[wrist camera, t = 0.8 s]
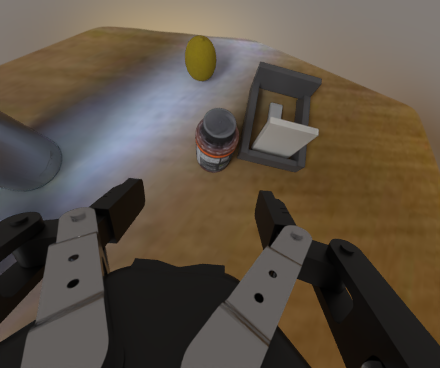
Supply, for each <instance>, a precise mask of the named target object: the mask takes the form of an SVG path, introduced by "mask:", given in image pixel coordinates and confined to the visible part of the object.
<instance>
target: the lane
mask: <svg viewBox="0 0 440 368" xmlns="http://www.w3.org/2000/svg"><path fill="white" fill-rule="evenodd" d="M321 81H322V79H321V78H317V77H314V76H310V75H306V74H303V73H299V72H296V71H292V70H289V69H285V68H282V67H278V66H275V65H271V64H268V63H264V62H260V64H259V67H258V69H257V72H256V75H255V77H254V80H253V82H252V85H251V88H250V93H249V98H248V103H247V108H246V114H245V119H244V124H243V129H242V134H241V140H240V145H239V150H238V155H237V158H238V159H242V160H246V161H250V162H254V163H259V164H263V165H267V166H271V167H275V168H279V169H284V170H288V171H292V172H297V171H299V170H300V169H302V168H304V167H305V158H306V146H307V144H306V145H305V146H303V147H302V148H301V149H299V150H298V151H297V152H295V153H294V154H293V155H291V159H286V158H282V157H278V156H273V155H269V154H265V153H261V152H257V151H253V150H249V143H250V137H251V132H252V126H253V120H254V114H255V109H256V103H257V97H258V92H259V88H261V89H265V90H269V91H272V92H276V93H280V94H283V95H287V96H291V97H294V98H298V100H297V102H296V112H295V121H294V123H297V124H301V125H305V126H308V122H309V109H310V97H311V95H312V94H313V93H314V92H315V91H316V90H317V89H318V87H319V86H320V85H321Z"/></svg>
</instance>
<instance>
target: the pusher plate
mask: <svg viewBox="0 0 440 368" xmlns="http://www.w3.org/2000/svg"><path fill="white" fill-rule="evenodd" d="M282 106H283V105H279V104H276V103H272V102H271V103H270V106H269V113H268V120H267V123H266V125H265V126H264V128H263V129H262V131H261V132H260V134H259V135H258V137H257V138H256V140H255V141H254V143H253V144H252V146H251V150H253V151H257V152H261V153H265V154H269V155H273V156H278V157H282V158H286V159H287V158H289V157H290V156H291V155H293V154H294V153H295V152H297V151H298V150H299V149H301V148H302V147H303V146H305V145H306V144H307V143H309V142H310V141H311V140H313V139H314V138H315V137H317V136H318V131H319V129H316V128H312V127H308V126H305V125H301V124H297V123H293V122H289V121H285V120H282V119H281V114H282Z"/></svg>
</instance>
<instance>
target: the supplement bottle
mask: <svg viewBox="0 0 440 368" xmlns="http://www.w3.org/2000/svg"><path fill="white" fill-rule="evenodd" d="M195 138H196V155H197V161H198V163H199V165H200V166H201V167H202V168H203V169H204V170H206V171H208V172H214V173H215V172H219V171H222V170H223V169H225V168H226V167H227V165H228V164H229V162H230V159H231V157H232V155H233V153H234V151H235V149H236V146H237V144H238V141H239V131H238V128H237V126H236V120H235V117H234V116H233V114H232V113H230V112H229V111H228V110H226V109H222V108H215V109H212V110H210V111H208V112H207V113H206V115H205V116H204V119H202V120H201V121H200V123H199V124H198V126H197V128H196V137H195Z"/></svg>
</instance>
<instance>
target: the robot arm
mask: <svg viewBox="0 0 440 368" xmlns="http://www.w3.org/2000/svg"><path fill="white" fill-rule="evenodd" d="M61 160H62V157H61V152H60V149H59V147H58V146H57V145H56V144H55V143H54V142H53V141H51V140H50V139H48V138H46V137H45V136H43V135H41V134H39V133H38V132H36V131H34V130H32V129H31V128H29V127H27V126H26V125H24V124H22V123H20V122H19V121H17V120H15V119H13V118H12V117H10V116H8V115H6V114H4V113H3V112H1V111H0V188H5V189H10V190H16V191H28V190H33V189H36V188H39V187H41V186H43V185H45V184H46V183H48V182H49V181H50V180H51V179H52V178H53V177H54V176H55V175H56V174H57V172H58V170H59V168H60V165H61ZM144 205H145V194H144V186H143V181H142V179H135V178H129V179H127V180H126V181H125V182H124V183H123V184H120V185H118V186H116V187H113V188H112V189H111V190H109V191H108V192H107V193H106V194H104V195H103V197H101V198H99V199H98V200H97V201H96V202H95V203H93V204H92V205H91V206H90V207H83V208H77V209H73V210H71V211H68V212H66V213H65V214H63V215H62V216H61V217H60V219H54V220H45V221H43V219H42V217H41V215H40V214H39V213H37V212H26V213H21V214H17V215H14V216H11V217H8V218H6V219H4V220H2V221H1V222H0V262H1V261H2V260H3V259H4V258H6V257H7V256H8V255H10V254H11V253H12V254H13V256H14V257H15V259H16V260H17V262H16V263H15V264H13V265H12V266H11V267H10V268H9V269H7V270H6V271H5V272H4V273H3V274H1V275H0V323H1V322H2V321H3V320H4V319H5V318H6V317H7V316H8V315H9V314H10V313H11V312H12V310H13V309H14V308H15V307H16V306H17V305H18V304H19V303H20V302H21V301H22V300H23V299H24V298H25V297H26V296H27V294H28V293H29V292H30V291H31V290H32V289H33V288H34V287H35V286H36V285H37V284H38V283H39V282H40V281H41V279H42V278H43V283H42V288H41V294H40V300H39V306H38V312H37V318H36V320H34V321H33V322H31V323H30V324H28V325H26V326H25V327H23V328H22V329H20V330H19V331H17V332H16V333H14V334H12V335H11V336H9V337H8V338H6V339H5V340H3V341H2V342H0V368H311V367H310V365H309V364H308V363H307V362H306V360H305V359H304V358H303V357H302V355H301V354H300V353H299V352H298V350H297V349H296V348H295V347H294V345H293V344H292V343H291V342H290V340H289V339H288V338H287V337H286V335H285V334H284V333H283V332H282V330H281V329H280V328H279V327H278V322H279V320H280V317H281V315H282V313H283V310H284V308H285V305H286V303H287V301H288V298H289V296H290V293H291V291H292V289H293V286H294V284H295V281H296V279H299V280H302V281H305V282H307V283H310V284H312V286H313V288H314V291H315V293H316V295H317V298H318V300H319V303H320V305H321V308H322V310H323V312H324V315H325V317H326V320H327V322H328V325H329V327H330V329H331V332H332V334H333V337H334V339H335V341H336V344H337V346H338V349H339V351H340V354H341V356H342V358H343V361H344V363H345V366H346V368H440V346H439V344H438V343H437V342H436V341H435V340H434V338H433V337H432V336H431V335H430V333H429V332H428V331H427V330H426V329H425V327H424V326H423V325H422V324H421V323H420V321H419V320H418V319H417V318H416V317H415V315H414V314H413V313H412V312H411V311H410V309H409V308H408V307H407V306H406V304H405V303H404V302H403V301H402V300H401V298H400V297H399V296H398V295H397V294H396V292H395V291H394V290H393V289H392V288H391V286H390V285H389V284H388V283H387V282H386V280H385V279H384V278H383V277H382V275H381V274H380V273H379V272H378V271H377V269H376V268H375V267H374V266H373V265H372V263H371V262H370V261H369V260H368V259H367V257H366V256H365V255H364V254H363V253H362V251H361V250H360V249H359V248H357V247H356V246H355V245H353V244H352V243H350V242H348V241H345V240H342V239H332V240H331V241H330V243H329V245H327V244H324V243H320V242H317V241H314V240H312V237H311V236H310V234H309V233H308V232H307V231H306V230H304V229H302V228H300V227H298V226H296V224H295V222H294V220H293V219H292V217H291V215H290V214H289V212H288V210H287V208H286V206H285V204H284V203H283V202H281V201H280V200H279V199H275V197H274V195H273V193H272V192H271V191H262V190H260V191H259V195H258V199H257V203H256V208H255V220H256V224H257V228H258V231H259V235H260V239H261V243H262V247H263V252H262V253H261V255H260V256H259V257H258V259H257V260H256V261H255V263H254V264H253V265H252V267H251V268H250V269H249V271H248V272H247V273H246V275H245V276H244V277H243V279H242V280H241V281H239V280H238V279H236V278H235V277H233V276H231V275H229V274H226V273H225V266H224V265H211V264H198V265H191V266H185V267H176V266H173V265H170V264H167V263H165V262H162V261H159V260H150V259H138V258H135V260H134V262H133V264H132V265H131V266H128V267H124V268H120V269H118V270H115V271H113V272H110V268H109V263H108V257H107V251H106V247H105V246H106V245H107V243H116V244H117V243H118V242H119V240H120V239H121V237H122V236H123V235H124V233H125V232H126V231H127V229H128V228H129V227H130V225H131V224H132V222H133V221H134V220H135V218H136V217H137V216H138V214H139V213H140V212H141V210H142V209H143V207H144ZM345 287H346V288H347V289H348V291H349V293H350V294H351V297H352V299H353V300H352V299H351V297H350V295H349V293H348V292H347V290H346V288H345Z"/></svg>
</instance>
